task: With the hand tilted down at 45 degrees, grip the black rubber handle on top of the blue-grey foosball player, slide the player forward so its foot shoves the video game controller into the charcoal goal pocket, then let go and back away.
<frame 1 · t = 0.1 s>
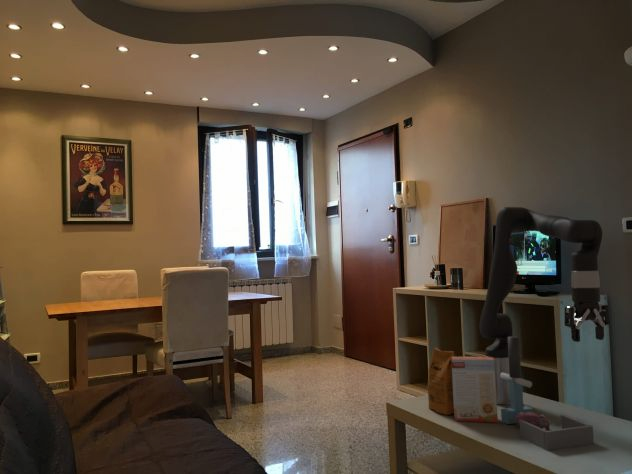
hand: (588, 340, 149), 29 cm above the table, tool pointing down, fingers open, 8 cm apart
coffee package: (445, 411, 181), on the table
goal pocket: (555, 440, 148), on the table
cracker box: (475, 420, 169), on the table
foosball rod: (515, 378, 166), point 14 cm above the table, slide at 0.0 cm
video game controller: (532, 430, 158), on the table
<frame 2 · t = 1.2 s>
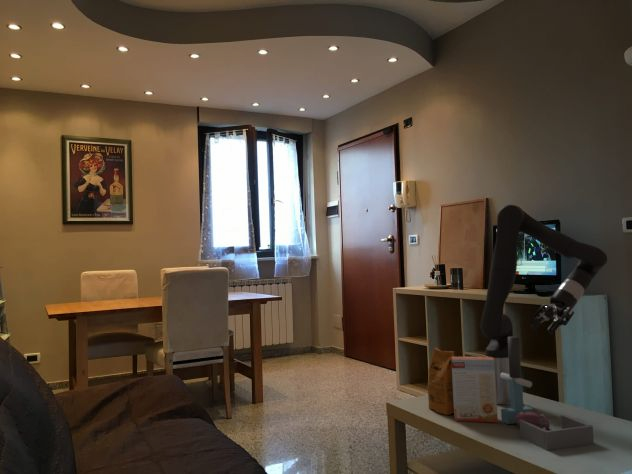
hand: (540, 330, 169), 30 cm above the table, tool tilted 45°, fingers open, 8 cm apart
nothing on the table moved.
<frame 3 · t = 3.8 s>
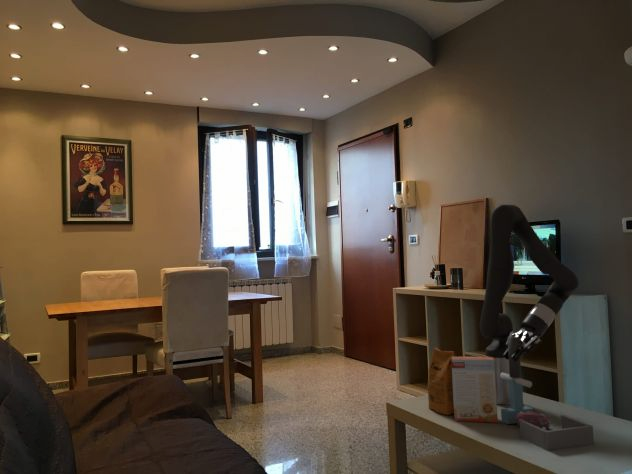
hand: (509, 358, 165), 21 cm above the table, tool tilted 45°, fingers closed on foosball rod, 3 cm apart
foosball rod: (515, 378, 166), point 14 cm above the table, slide at 0.0 cm, touching gripper
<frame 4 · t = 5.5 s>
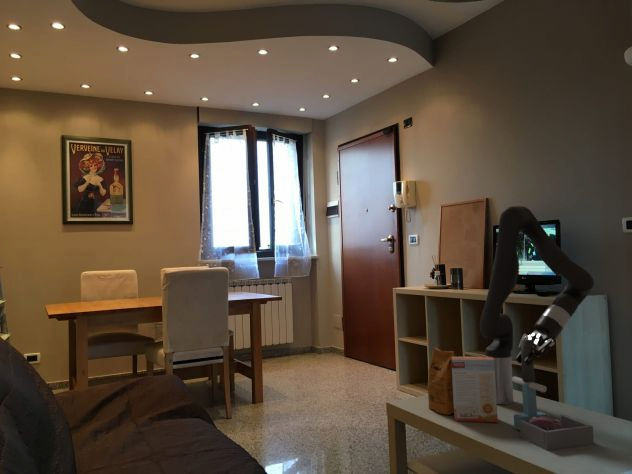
hand: (522, 362, 159), 21 cm above the table, tool tilted 45°, fingers closed on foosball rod, 3 cm apart
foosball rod: (528, 383, 159), point 14 cm above the table, slide at 6.6 cm, touching gripper
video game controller: (546, 435, 152), on the table
everything else where it was.
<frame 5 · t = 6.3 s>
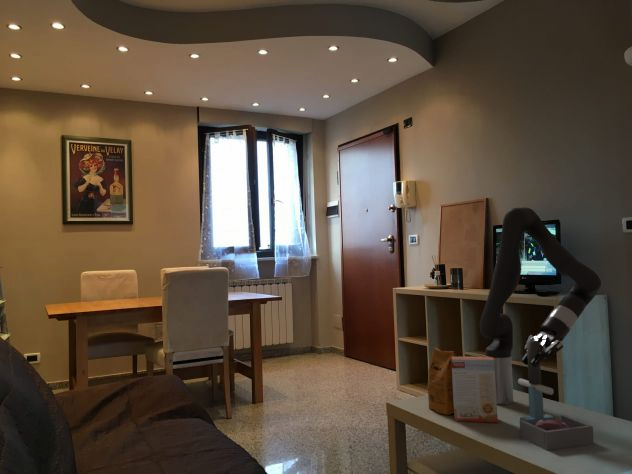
hand: (528, 364, 156), 21 cm above the table, tool tilted 45°, fingers closed on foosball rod, 3 cm apart
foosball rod: (535, 385, 156), point 14 cm above the table, slide at 9.6 cm, touching gripper, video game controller
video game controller: (553, 439, 149), on the table, touching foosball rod
everything else where it was.
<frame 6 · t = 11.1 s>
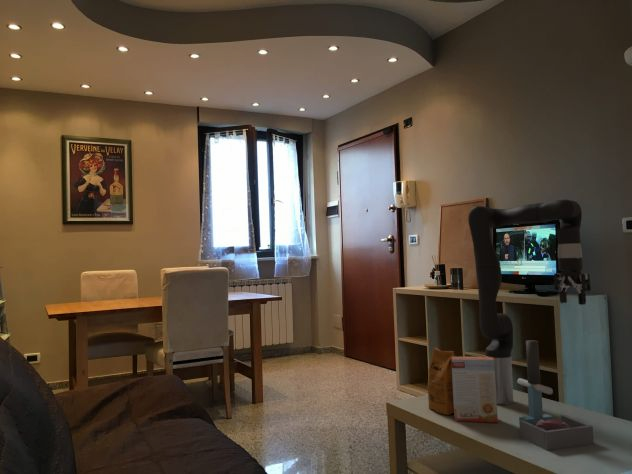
hand: (572, 303, 173), 38 cm above the table, tool pointing down, fingers open, 8 cm apart
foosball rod: (534, 385, 157), point 14 cm above the table, slide at 9.2 cm
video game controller: (553, 438, 150), on the table
everything else where it was.
at the end: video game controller inside the target area (2.2 cm from its centre), on the table; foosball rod slide at 9.2 cm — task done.
